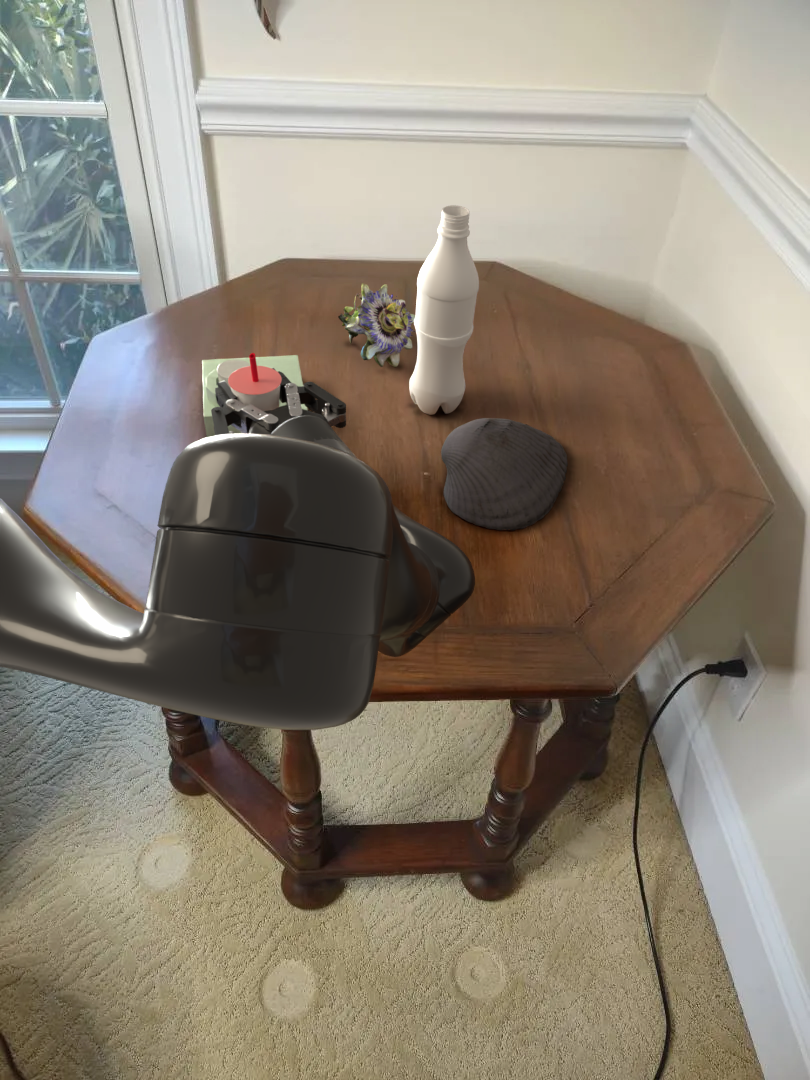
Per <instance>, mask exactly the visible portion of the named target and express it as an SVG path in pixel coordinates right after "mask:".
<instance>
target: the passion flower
mask: <svg viewBox="0 0 810 1080" xmlns="http://www.w3.org/2000/svg"><path fill="white" fill-rule="evenodd" d="M388 289H389V288H388V284H383V285H382V286H381V287H379V289H378V290H375V292H374V291H373V290H372V289H370V288H369V285H368V284H366V283H361V291H360V292H361V293H360V292H357V293H356V294H355V297H354V302H353V306H345V307H344V308H343V313H340V314H339V315H338V320H340V322H341V327H344V330H345V331H347V333H348V335H349V336H348V338H349V342H350V343H349V344H350V345H352V343H353V339H354V338H356V337H358V336H359V335H364V336H366V338H367V339H366V343H365V344H364V345H363V346H362V348H361V351H360V357H361V359H362V360H363V361H369V360H370V359H371V360H372V358H373V359H374V361H375V362H376V364H378V366H379V367H380V368H382V367H383V366H384V365H385V362H387V363H388V364H389V365H390V366H392V367H394V368H397V367H398V366H399V364H400V361H401V360H400V353H401V351H402V350H403V349H405V350H412V349H413V340H412V339H411V337H413V335H412V332H414V333H416V330H414V329H413V328H412V324H414V319H415V316H416V314H414V313H410V311H409V310H408V309H407V307H406V306H407V305H406V301H405V300H404V299H401V298H400V299H398V298H397V297H398V295H395V296H396V298H394V294H393V293H391V294H390V295H389V293H388V292H389V291H388ZM357 297H358V299H360V301H361V303H360V304H359V305H358V306H357V305H356V304H357ZM393 298H394V299H393ZM352 311H353V313H352V314H350V313H351V312H352Z"/></svg>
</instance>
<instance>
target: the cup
mask: <svg viewBox="0 0 810 1080" xmlns="http://www.w3.org/2000/svg"><path fill="white" fill-rule="evenodd" d="M256 357H257V356H256V353H255V352H251V353H250V354H249V356H248V358H249V359H250V366H247V367H243V368H240V369H238V370H236V371H234V372H233V373H232V374H231V375H230V376H229V378H228V383H229V385H230V387H231V391H232V392H233V394H234V395H236V396H237V399H238V401H239V402H241V403H243V404H245V405H246V406H248V405H249V404H251V405H253V406H255V407H257V408H258V409H260V410H262V411H268V410H274V409H276V408H278V407H279V399H280V384H281V381H282V378H281V375H280V374H279V373H278V372H277V371H276V370H274V369H272V368H269V367H265V366H257V364H256ZM241 433H242V432H241Z"/></svg>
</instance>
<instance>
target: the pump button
mask: <svg viewBox="0 0 810 1080" xmlns="http://www.w3.org/2000/svg"><path fill="white" fill-rule="evenodd" d="M247 366H250V364H249V363H248V362H246V361H243V360H228V361H225V362H223V363H221V364H220V365H219V366H218V368H217V375H218V382H222V381H225V382H226V383H227V384H228V386H229V387H230V385H229V383H228V378H229V376H230V375H231V374H232V373H233V372H234V371H236V370H238V369H240V368H243V367H247ZM230 388H231V387H230Z"/></svg>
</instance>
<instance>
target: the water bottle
mask: <svg viewBox="0 0 810 1080" xmlns="http://www.w3.org/2000/svg"><path fill="white" fill-rule="evenodd" d="M469 223H470V210H469V209H468V208H467V207H465V206H461V205H456V204H451V205H446V206H444V207H442V209H441V214H440V222H439V223H438V227H437V230H436V232H437V234H438V238H437V241H436V243H435V245H434V247H433V249H431V251H430V252H429V254H428V256H427V257H426V259H425V261H424V262H423V264H422V266H421V267H420V269H419V272H418V275H417V278H416V287H417V289H416V290H417V291H416V301H415V302H416V303H415V304H416V305H415V319H414V323H413V325H414V329H415V334H416V342H417V354H416V355H417V356H416V362H415V366H414V370H413V372H412V374H411V376H410V378H409V380H408V387H409V389H408V390H409V395H410V398H411V400H412V402H413V404H414V405H417V407H418V409H419V411H421V412H422V413H423V414H427V415H435V414H436V413H437V412H438V411H439V408H440V407H441V409H442V411H443V412H444V414H446V415H447V414H451V413H452V412H454V411H455V410H456V409H457V408H458V406H459V405H460V404H461V402H462V401H463V398H464V394H465V391H466V379H465V374H464V353H465V348H466V345H467V344H468V341H469V340H470V339H471V337H472V334H473V332H474V328H475V327H474V326H475V325H474V320H475V319H474V318H475V311H476V305H477V297H478V293H479V290H480V278H479V273H478V269H477V267H476V263H475V262H474V259H473V257H472V254H471V252H470V249H469V246H468V237H470V235H471V230H470V225H469Z"/></svg>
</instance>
